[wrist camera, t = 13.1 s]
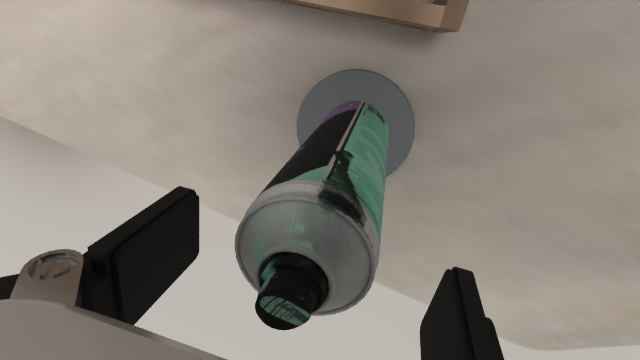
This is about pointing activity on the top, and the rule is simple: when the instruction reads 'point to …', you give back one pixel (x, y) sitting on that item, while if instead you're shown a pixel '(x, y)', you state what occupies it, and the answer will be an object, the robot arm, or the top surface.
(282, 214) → the spray can
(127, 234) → the robot arm
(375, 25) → the top surface
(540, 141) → the top surface
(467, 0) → the wooden box
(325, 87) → the mat
